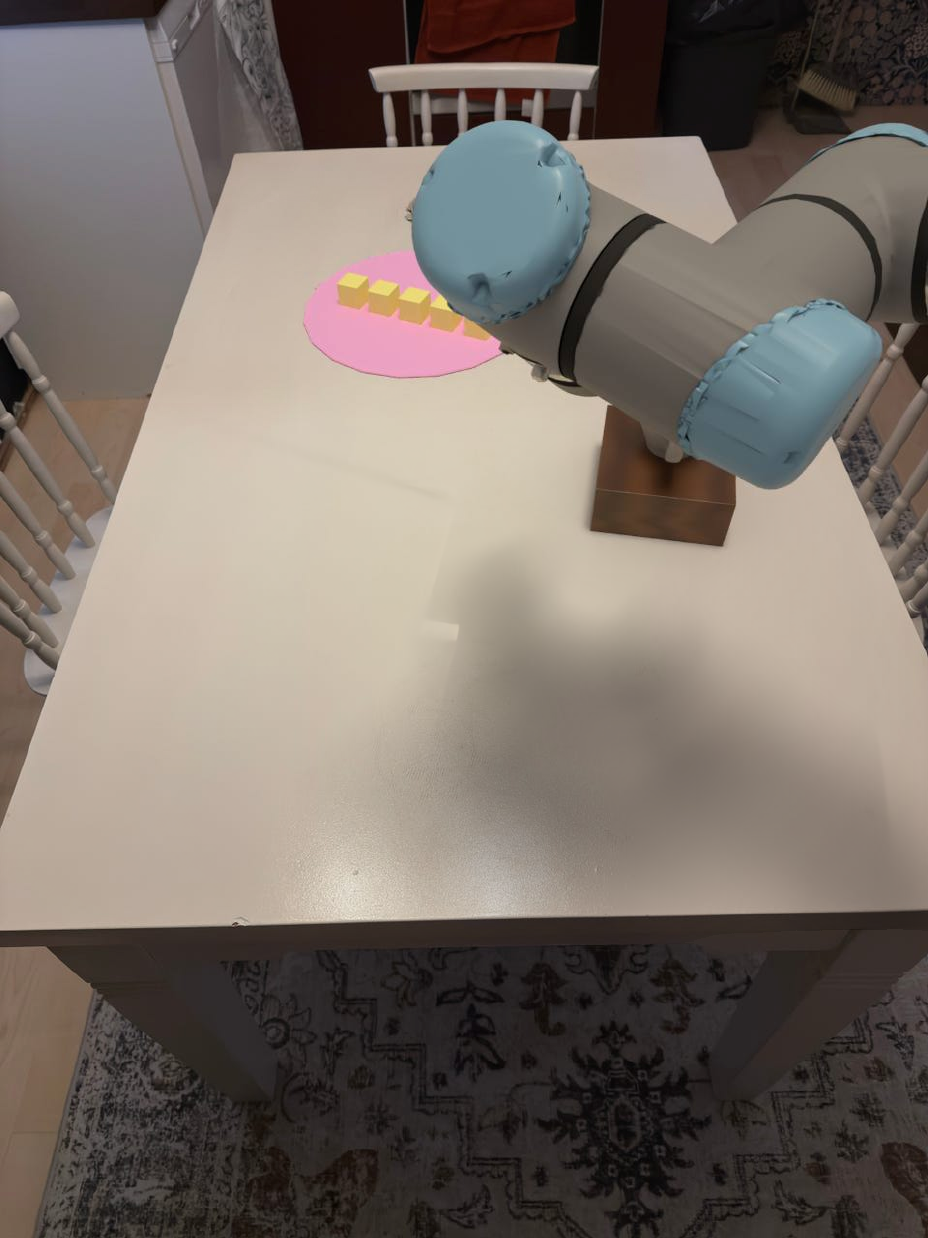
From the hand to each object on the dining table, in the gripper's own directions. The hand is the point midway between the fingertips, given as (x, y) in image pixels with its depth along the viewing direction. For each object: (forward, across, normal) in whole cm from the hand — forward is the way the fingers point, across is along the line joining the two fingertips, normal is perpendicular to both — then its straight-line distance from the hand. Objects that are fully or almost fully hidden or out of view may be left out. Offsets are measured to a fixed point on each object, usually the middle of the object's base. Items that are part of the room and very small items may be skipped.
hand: (648, 395), depth 67 cm
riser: (+27, -1, -6) cm, 27 cm away
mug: (+23, -1, -2) cm, 23 cm away
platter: (+39, -45, +7) cm, 60 cm away
